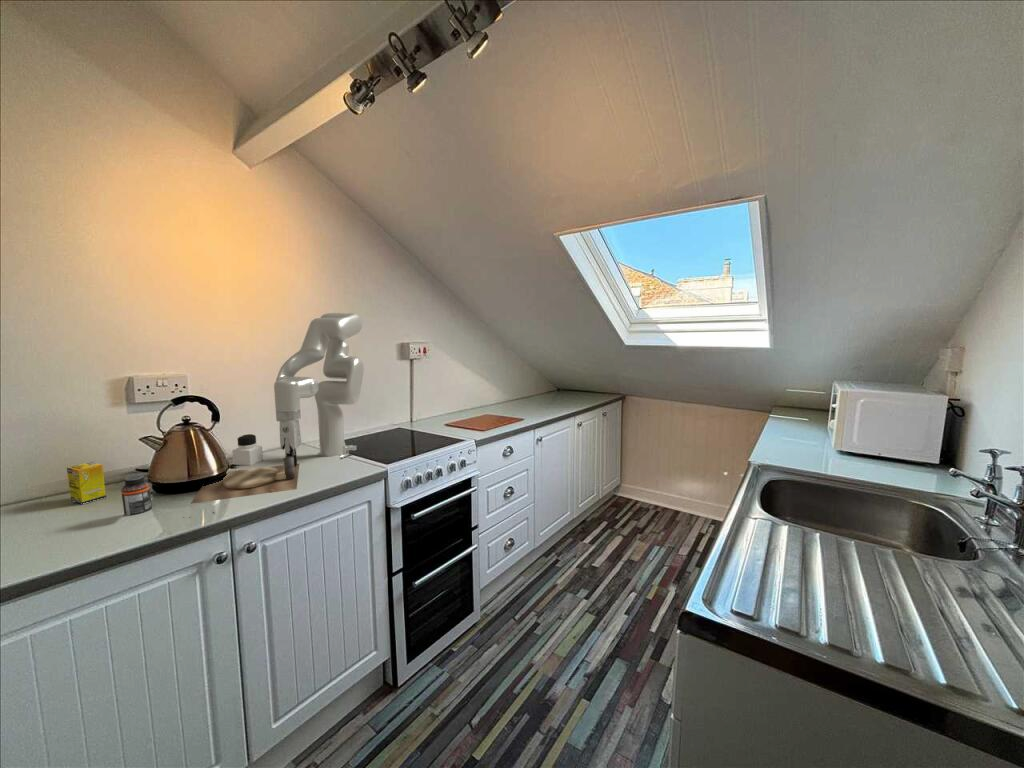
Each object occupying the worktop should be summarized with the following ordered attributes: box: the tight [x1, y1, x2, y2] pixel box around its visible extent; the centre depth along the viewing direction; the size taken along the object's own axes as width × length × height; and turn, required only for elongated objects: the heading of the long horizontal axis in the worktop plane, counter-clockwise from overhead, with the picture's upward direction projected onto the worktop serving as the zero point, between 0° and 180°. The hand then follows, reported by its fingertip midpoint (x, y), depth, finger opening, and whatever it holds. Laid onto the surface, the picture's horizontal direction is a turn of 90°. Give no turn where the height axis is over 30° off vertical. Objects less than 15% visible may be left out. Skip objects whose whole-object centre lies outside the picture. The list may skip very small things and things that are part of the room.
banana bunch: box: [223, 457, 295, 489], centre depth 142 cm, size 22×16×7 cm
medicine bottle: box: [231, 433, 264, 466], centre depth 162 cm, size 7×7×12 cm
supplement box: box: [66, 461, 107, 505], centre depth 129 cm, size 6×6×11 cm
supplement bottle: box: [120, 474, 153, 516], centre depth 118 cm, size 6×6×11 cm
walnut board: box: [190, 463, 300, 504], centre depth 142 cm, size 28×28×2 cm
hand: (291, 466), depth 148 cm, fingers closed
